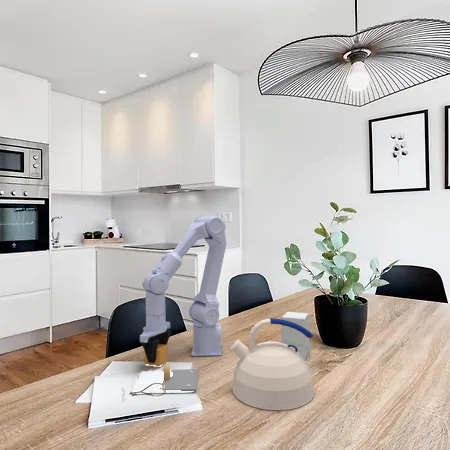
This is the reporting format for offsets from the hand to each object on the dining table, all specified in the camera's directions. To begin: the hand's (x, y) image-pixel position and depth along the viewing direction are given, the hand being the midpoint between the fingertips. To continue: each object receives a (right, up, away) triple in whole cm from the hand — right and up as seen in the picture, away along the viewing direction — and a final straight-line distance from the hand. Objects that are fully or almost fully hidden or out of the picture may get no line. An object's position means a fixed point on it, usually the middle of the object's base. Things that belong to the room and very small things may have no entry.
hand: (156, 358), depth 108 cm
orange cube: (0, -1, 0) cm, 1 cm away
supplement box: (+43, -1, +6) cm, 43 cm away
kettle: (+32, -2, -17) cm, 37 cm away
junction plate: (+5, -2, -13) cm, 14 cm away
